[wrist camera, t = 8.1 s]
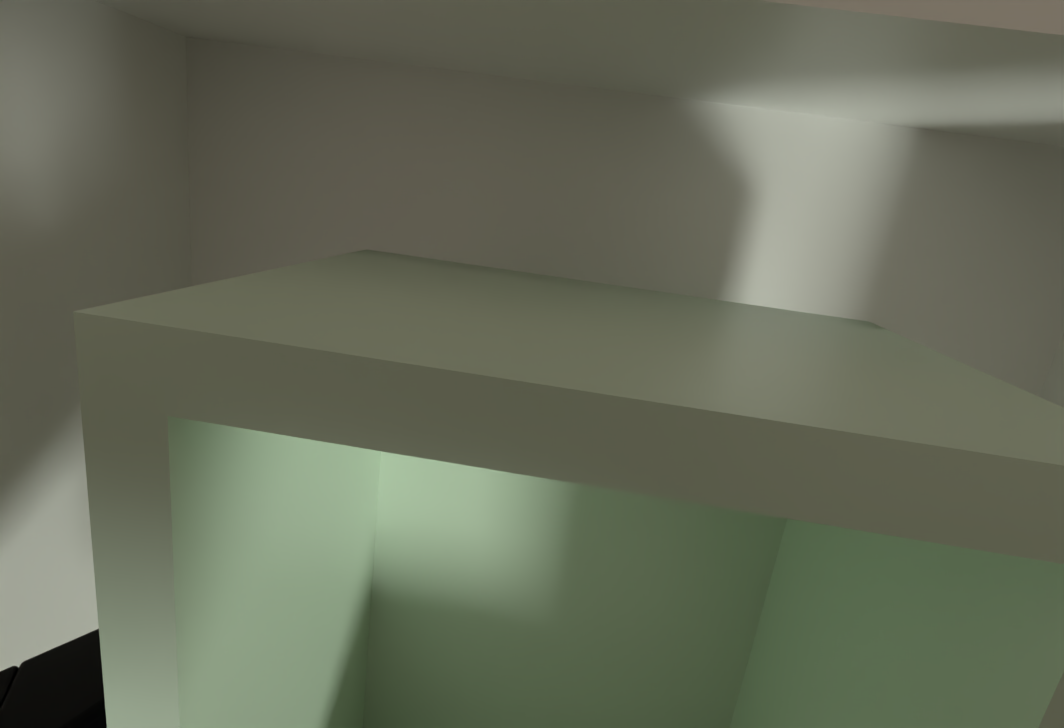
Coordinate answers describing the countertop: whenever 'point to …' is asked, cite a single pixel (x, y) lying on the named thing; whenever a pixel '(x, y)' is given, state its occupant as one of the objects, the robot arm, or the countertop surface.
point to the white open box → (512, 180)
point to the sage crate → (557, 510)
